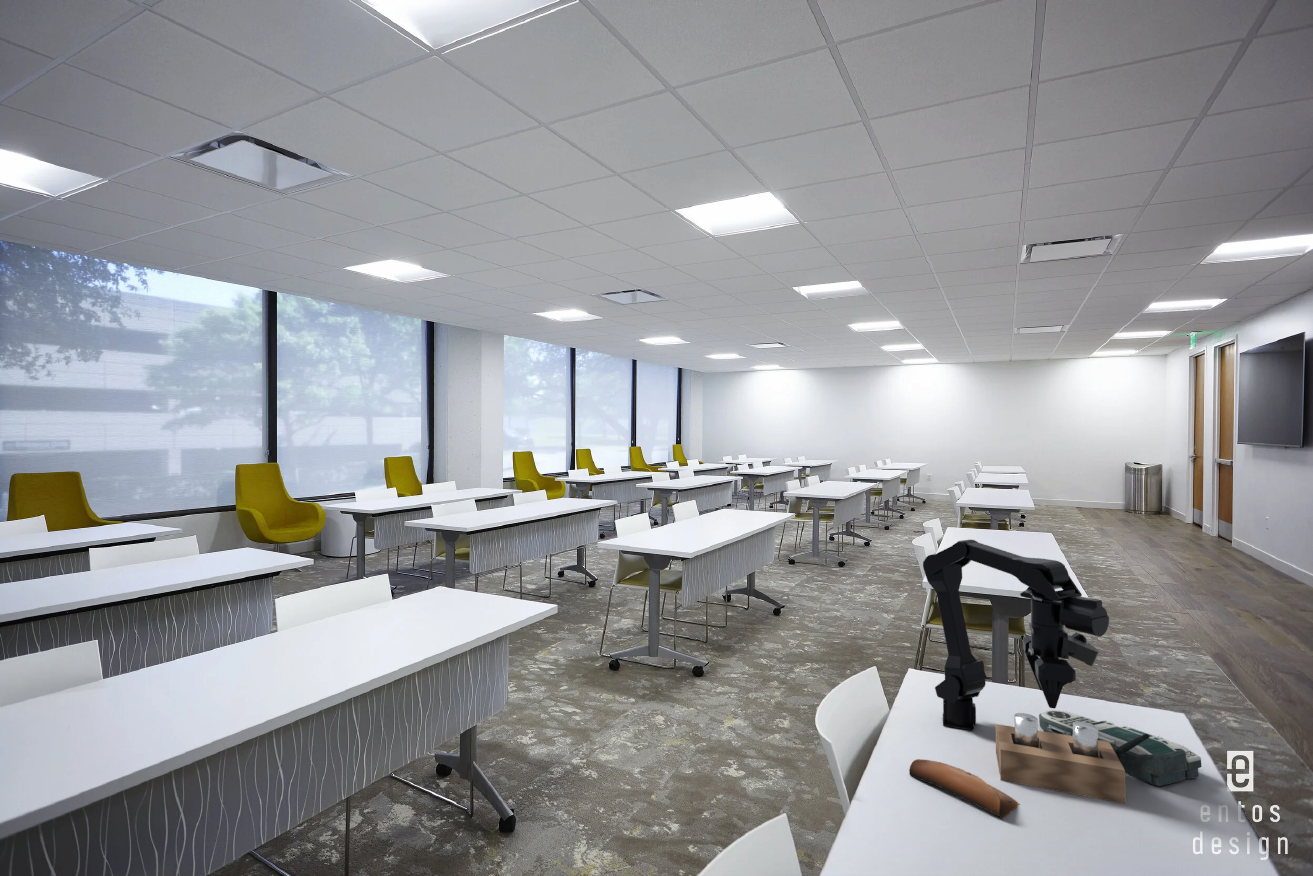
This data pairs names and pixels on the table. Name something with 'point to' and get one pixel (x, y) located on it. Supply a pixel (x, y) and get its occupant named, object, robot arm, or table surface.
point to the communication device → (1133, 748)
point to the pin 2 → (1085, 739)
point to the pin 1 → (1026, 730)
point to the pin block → (1060, 765)
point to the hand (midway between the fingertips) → (1047, 699)
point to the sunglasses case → (963, 785)
